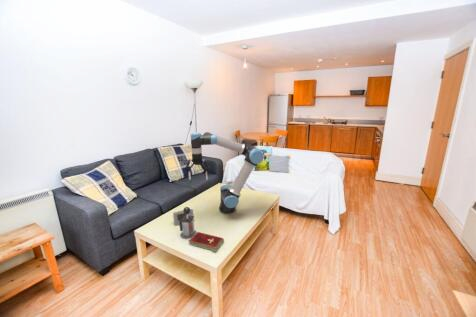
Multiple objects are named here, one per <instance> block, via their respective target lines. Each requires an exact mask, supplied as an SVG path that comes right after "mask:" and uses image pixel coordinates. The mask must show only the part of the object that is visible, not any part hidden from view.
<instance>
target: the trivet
mask: <svg viewBox="0 0 476 317" xmlns="http://www.w3.org/2000/svg"><path fill="white" fill-rule="evenodd" d="M197 232H198V231H196V229H194V235H195V234H196V233H197ZM194 235H193V236H194ZM193 236H192V237H193ZM192 237H184V236H183V231H181V233H180V238H182V239H184V240H190V239H191V238H192Z"/></svg>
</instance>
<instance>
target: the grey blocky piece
mask: <svg viewBox="0 0 476 317" xmlns="http://www.w3.org/2000/svg"><path fill="white" fill-rule="evenodd" d="M193 218H194V219H195V216H188V219H187V217H186V216H184V217H183V218H182V220H180V221H179V223H180V225H179V231H180V232H183V236H184V237H192V236H193V235H194V230H195V220H194V221H193Z"/></svg>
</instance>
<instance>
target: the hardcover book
mask: <svg viewBox="0 0 476 317" xmlns="http://www.w3.org/2000/svg"><path fill="white" fill-rule="evenodd" d="M196 232H197V233H196V234H195V235H194V236H193V237H192V238H191V239H188V244H189V245H191V246H196V247H198V248H202V249H206V250H209V251H212V252H213V253H216V252H217V250H218V249H219V248H220V247H221V245H222V244H223V243H224V237H221V236H216V235H212V234H208V233H204V232H200V231H196Z"/></svg>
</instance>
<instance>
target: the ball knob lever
mask: <svg viewBox="0 0 476 317" xmlns="http://www.w3.org/2000/svg"><path fill="white" fill-rule="evenodd" d="M190 209H191V208H190V207H188V206H185V207H183V209H182V210H183V212H184V213H185V214H186V217H187V219H188V214H189V213H190Z"/></svg>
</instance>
